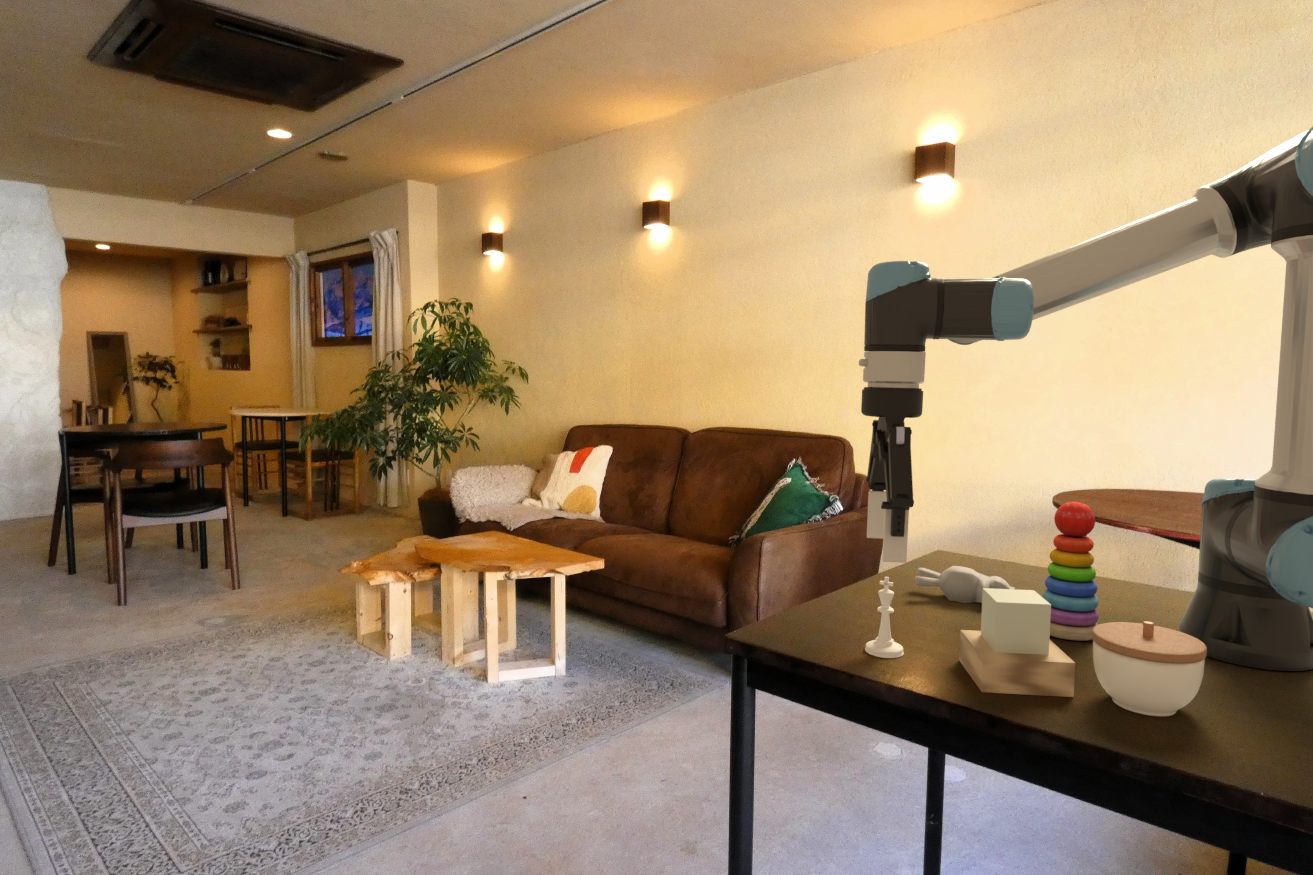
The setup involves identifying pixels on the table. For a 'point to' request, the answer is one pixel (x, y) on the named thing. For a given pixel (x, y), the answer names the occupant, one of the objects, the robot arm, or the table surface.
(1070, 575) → the stacking toy
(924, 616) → the table surface
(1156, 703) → the lidded jar
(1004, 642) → the cube
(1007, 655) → the plinth
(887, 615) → the chess piece
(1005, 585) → the bunny figurine
